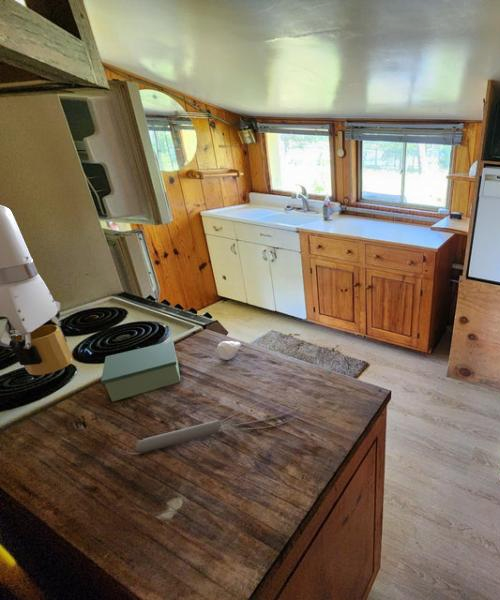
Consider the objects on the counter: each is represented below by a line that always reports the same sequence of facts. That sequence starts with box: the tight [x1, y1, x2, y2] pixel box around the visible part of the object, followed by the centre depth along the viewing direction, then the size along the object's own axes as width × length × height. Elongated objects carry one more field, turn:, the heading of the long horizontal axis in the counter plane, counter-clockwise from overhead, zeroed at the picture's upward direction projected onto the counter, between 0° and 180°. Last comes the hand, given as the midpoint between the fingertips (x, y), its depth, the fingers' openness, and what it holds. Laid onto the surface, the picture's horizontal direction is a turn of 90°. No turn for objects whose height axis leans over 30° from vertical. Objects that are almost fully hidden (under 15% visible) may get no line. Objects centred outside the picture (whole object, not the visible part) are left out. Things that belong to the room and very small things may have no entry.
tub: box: [100, 340, 181, 402], centre depth 84 cm, size 15×12×7 cm
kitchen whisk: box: [125, 395, 301, 455], centre depth 70 cm, size 6×34×6 cm, turn 111°
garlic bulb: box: [216, 340, 242, 361], centre depth 96 cm, size 6×6×5 cm
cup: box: [16, 325, 74, 376], centre depth 67 cm, size 7×7×8 cm
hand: (45, 352), depth 68 cm, fingers closed on cup, 6 cm apart
